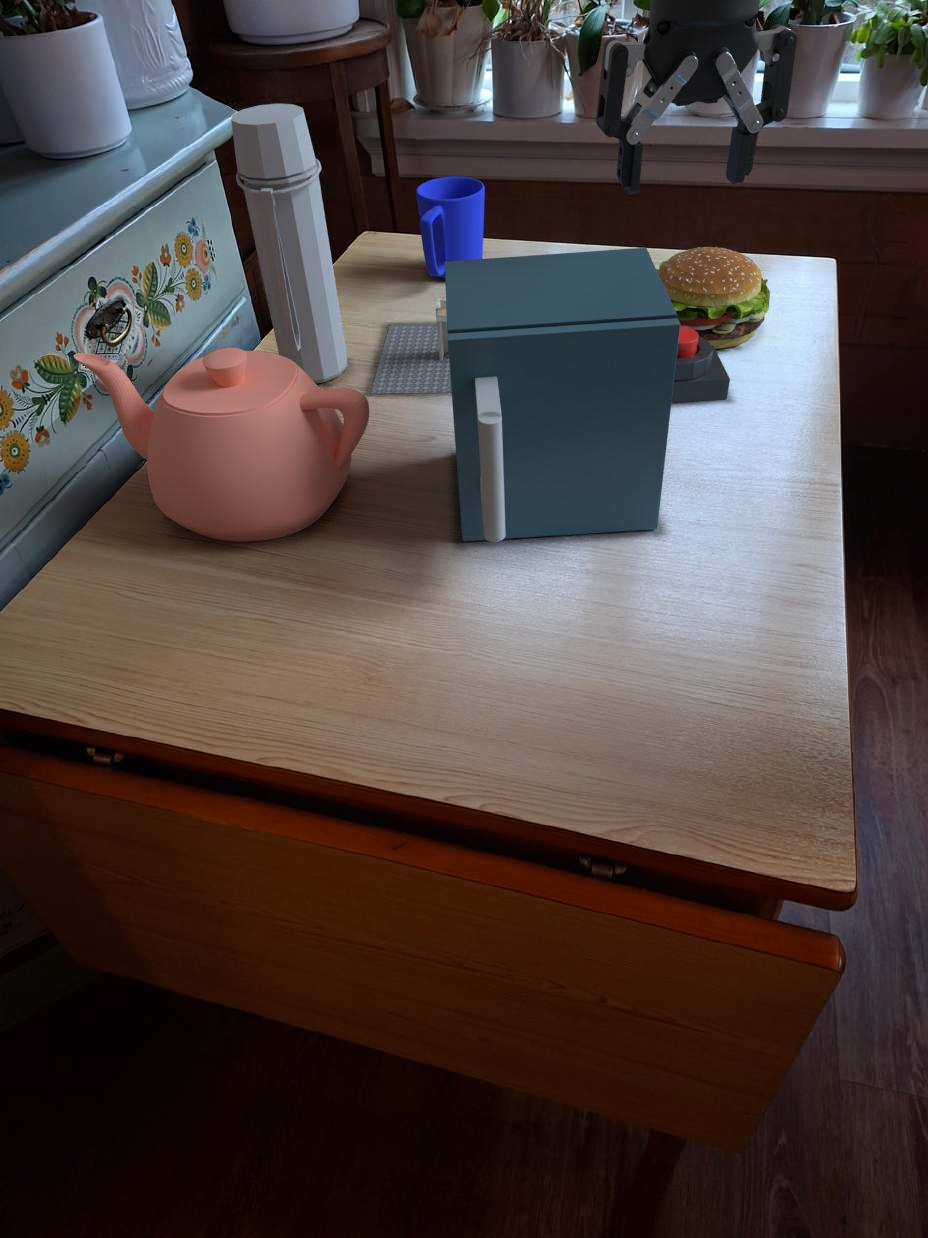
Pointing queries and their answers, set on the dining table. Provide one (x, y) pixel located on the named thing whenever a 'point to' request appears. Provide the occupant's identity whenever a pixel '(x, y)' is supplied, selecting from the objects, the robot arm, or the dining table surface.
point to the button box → (700, 376)
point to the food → (716, 294)
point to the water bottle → (291, 235)
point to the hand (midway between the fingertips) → (682, 185)
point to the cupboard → (554, 291)
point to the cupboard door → (562, 427)
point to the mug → (451, 221)
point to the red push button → (687, 342)
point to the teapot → (240, 442)
